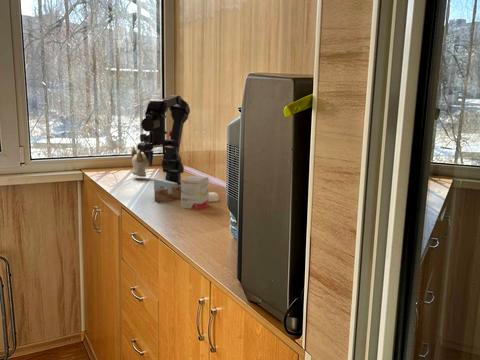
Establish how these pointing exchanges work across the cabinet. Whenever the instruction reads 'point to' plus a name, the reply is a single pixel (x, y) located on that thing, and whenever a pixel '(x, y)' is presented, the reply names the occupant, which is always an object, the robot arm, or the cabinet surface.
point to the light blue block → (164, 184)
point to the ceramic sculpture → (139, 163)
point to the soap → (213, 196)
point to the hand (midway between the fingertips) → (158, 164)
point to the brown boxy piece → (167, 194)
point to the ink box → (195, 192)
